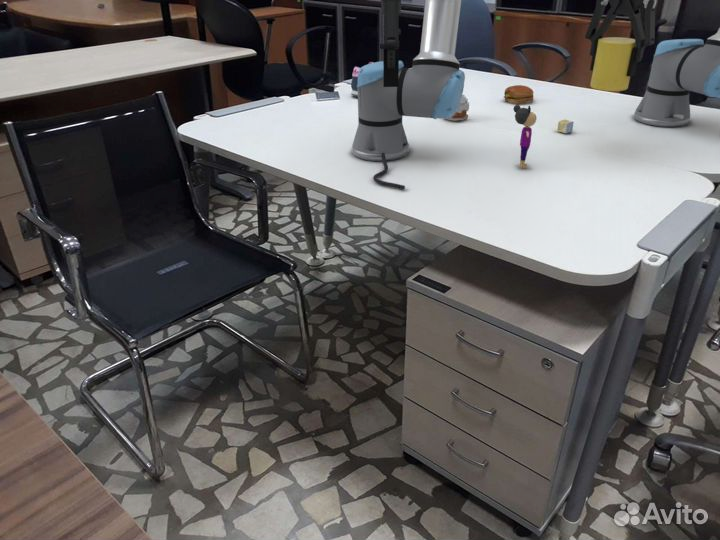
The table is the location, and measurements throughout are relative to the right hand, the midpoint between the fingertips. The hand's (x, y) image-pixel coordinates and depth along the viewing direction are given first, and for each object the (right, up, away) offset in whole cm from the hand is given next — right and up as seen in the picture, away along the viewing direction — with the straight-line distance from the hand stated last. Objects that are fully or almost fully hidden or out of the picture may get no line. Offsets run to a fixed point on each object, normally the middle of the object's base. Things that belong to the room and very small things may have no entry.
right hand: (611, 72), depth 142 cm
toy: (-23, -23, +1) cm, 33 cm away
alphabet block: (-3, -9, +24) cm, 26 cm away
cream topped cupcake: (-33, -2, +38) cm, 50 cm away
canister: (0, -3, +2) cm, 4 cm away
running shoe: (-55, +17, +70) cm, 91 cm away
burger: (-8, +9, +54) cm, 55 cm away
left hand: (-57, -13, -33) cm, 67 cm away
